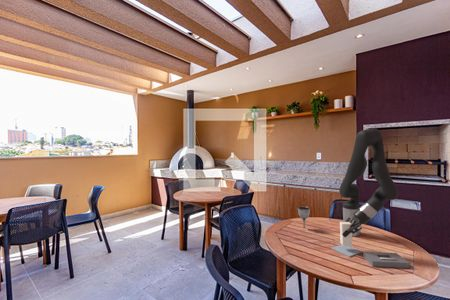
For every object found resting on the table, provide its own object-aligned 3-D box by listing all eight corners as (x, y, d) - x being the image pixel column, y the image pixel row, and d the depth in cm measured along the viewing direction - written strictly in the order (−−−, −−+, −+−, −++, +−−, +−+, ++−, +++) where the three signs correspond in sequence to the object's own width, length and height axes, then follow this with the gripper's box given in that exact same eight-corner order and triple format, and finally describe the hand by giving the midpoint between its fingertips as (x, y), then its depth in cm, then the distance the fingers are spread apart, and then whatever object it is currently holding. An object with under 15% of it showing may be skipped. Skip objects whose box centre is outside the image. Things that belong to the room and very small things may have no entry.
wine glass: (309, 227, 159) (309, 206, 159) (310, 231, 152) (309, 209, 152) (298, 226, 162) (297, 206, 162) (298, 230, 154) (297, 209, 154)
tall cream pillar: (349, 243, 123) (349, 222, 123) (352, 245, 120) (351, 224, 120) (340, 242, 124) (339, 221, 124) (342, 245, 121) (342, 224, 121)
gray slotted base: (396, 257, 112) (396, 251, 112) (409, 268, 103) (409, 261, 103) (362, 256, 115) (362, 250, 115) (372, 266, 105) (372, 259, 105)
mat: (344, 244, 129) (343, 243, 129) (362, 252, 119) (362, 251, 119) (331, 248, 125) (331, 247, 125) (349, 257, 115) (349, 256, 115)
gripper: (354, 205, 128) (332, 225, 130) (365, 212, 114) (341, 234, 116) (364, 214, 127) (342, 234, 129) (377, 222, 113) (352, 244, 115)
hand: (342, 234), depth 122 cm, fingers closed on tall cream pillar, 3 cm apart
